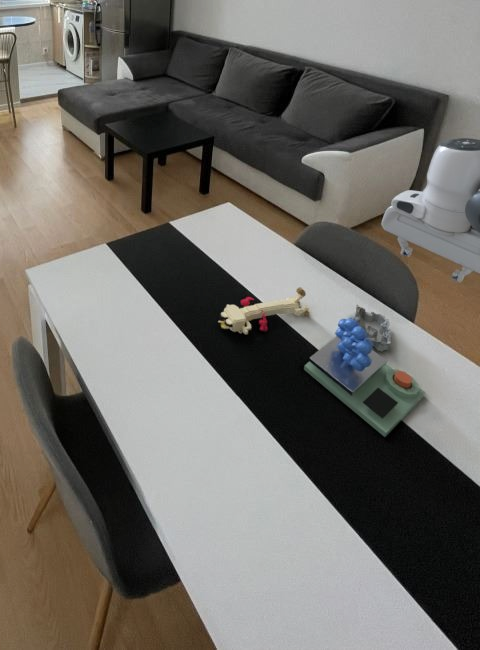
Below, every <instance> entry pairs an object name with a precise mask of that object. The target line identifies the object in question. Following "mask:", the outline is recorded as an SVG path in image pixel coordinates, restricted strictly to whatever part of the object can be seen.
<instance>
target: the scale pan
mask: <svg viewBox="0 0 480 650" xmlns="http://www.w3.org/2000/svg"><path fill="white" fill-rule="evenodd" d="M340 341H341V339H339V338H338V337H337V336H336V335H335V337H333V338H332V339H331V340H330V341H328V343H326V344H325V345H323V346H322V347H321V348H320V349H318V350H317V351H316V352H315V353H314V354H312V355H311V356H309V358H308V362H311V363H312V364H313V365H314V366H315V367H317V368H318V369H319V370H320V371H322V372H323V373H324V374H325V375H327V376H328V377H329V378H330V379H331V380H333V381H334V382H335V383H336V384H338V385H339V386H340V387H341V388H343V389H344V390H345V391H346V392H348V393H349V394H350V395H351V396H352V395H353V394H354V393H355V392H357V391H358V390H359V389H360V388H361V387H362V386H363V385H364V384H365V383H366V382H367V381H369V380H370V379H371V378H372V377H373V376H374V375H375V374H376V373H377V372H378V371H379V370H380V369H382V368H383V367H384V366H385V365H387V363H388V360H387V359H386V358H384V357H383V356H381V355H380V354H379V353H377V351H374V350H373V349H372V351H371V353H369V354H368V356H369V357H370V358H371V359H372V362H371V364H370V366H368V367H365V369H364V370H363V371H357V370H355V369H354V368H353V367H352V366H351V365H348V364H347V363H346V362H345V361H344V360H343V356H344V354H345V353H342V352H341V351H340V350H339V349H338V348H337V345H338V343H339V342H340ZM363 403H364V404H365V405H366V406H368V407H369V408H370V409H371V410H372V411H374V412H375V413H376V414H377V415H379V416H380V417H381V418H382V419H383V418H384V417H385V416H386V415H387V414H388V413H389V412H390V411H391V410H392V409H393V408H394V407H395V406H396V405H397V404H398V402H397V401H395V400H394V399H393V398H391V397H390V396H389V395H387V394H386V393H385V392H383V391H382V390H381V389H380V388H377V389H376V390H375V391H374V392H373V393H372V394H371V395H370V396H369V397H368V398H367V399H365V400H364V401H363Z"/></svg>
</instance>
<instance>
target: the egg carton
mask: <svg viewBox="0 0 480 650" xmlns="http://www.w3.org/2000/svg"><path fill="white" fill-rule="evenodd" d="M355 307H356V308H355V312H354V313H353V319H355V320H356V321H357V322H358V323H359V327H362V328H363V329H364V330H365V331H366V332H367V336H366V338H368V339H369V340H370V341H371V342H372V343H373V346H372V347H373V348H375V349H376V351H379V352H381V353H383V351H388V348H389V346H390V344H391V343H392V339H391V326H390V320H389V318H388V317H387V316H386V315H382V314H381V313H375V312H374V311H370V312H368V311H366V309H365V308H364V307H362V306H359V304H356V305H355Z"/></svg>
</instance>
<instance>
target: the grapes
mask: <svg viewBox="0 0 480 650" xmlns="http://www.w3.org/2000/svg"><path fill="white" fill-rule="evenodd" d="M337 326H338V328H336V330H335V332H334V334H335V337H336V336H337V337H338V338H339V339H341V341H340V342H339V343H338V345H337V348H338V349H339V350H340V351H341V352H342V353H345V354H344V356H343V360H344V361H345V362H346V363H347V364H348V365H351V366H352V367H353V368H354V369H355V370H357V371H363V370H364V369H365V367H368V366H370V364H371V362H372V359H371V358H370V357H369V356H368V354H369V353H371V351H372V350H373V348H374V346H373V343H372V342H371V341H370V340H369V339H368V338H366V336H367V332H366V331H365V330H364V329H363V328H362V327H359V323H358V322H357V321H356V320H355V319H354V317H353V318H352V317H348V318H342V319H339V321H338V323H337Z"/></svg>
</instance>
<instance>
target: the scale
mask: <svg viewBox="0 0 480 650" xmlns="http://www.w3.org/2000/svg"><path fill="white" fill-rule="evenodd" d="M303 370H304V371H305V372H306V373H307V374H309V376H311V377H312V378H313V379H314V380H316V381H317V382H318V383H319V384H320V385H322V386H323V387H324V388H325V389H326V390H328V391H329V392H330V393H331V394H332V395H333V396H335V397H336V398H337V399H339V400H340V401H341V402H342V403H343V404H344V405H346V406H347V408H349V409H351V410H352V411H353V412H354V413H355V414H357V416H359V417H360V418H361V419H362V420H364V422H366V423H367V424H368V425H369V426H370V427H372V428H373V429H374V430H376V431H377V432H378V433H379V434H380V435H381V436H383V437H384V438H387V436H388V435H389V434H390V433H391V432H392V431H393V430H394V429H395V428H396V427H397V425H398V424H399V423H400V422H401V421H402V420H403V419H404V418H405V417H407V415H408V414H409V413H410V411H412V409H414V408H415V406H416V405H417V404H418V403H419V402H420V401H421V400H422V399H423V398H424V397H425V395H426V391H425V390H423V389H422V388H420V387H419V383H418V382H417V380H416V379H415V378H414V377H413V376H412V375H411V374H409V373H407V372H405V371H404V370H400V369H398V368H392V367H390V366H389V365H388V364H386V365H385V366H384V367H383V368H382V369H380V370H379V371H378V372H377V373H376V374H375V375H374V376H373V377H372V378H371V379H370V380H369V381H367V382H366V383H365V384H364V385H363V386H362V387H361V388H360V389H359V390H358V391H357V392H355V393H354V394H353V395H352V396H351V395H350V394H349V393H348V392H346V391H345V390H344V389H343V388H341V387H340V386H339V385H338V384H336V383H335V382H334V381H333V380H331V379H330V378H329V377H328V376H327V375H325V374H324V373H323V372H322V371H320V370H319V369H318V368H317V367H315V366H314V365H313V364H312V363H311V362H309V361H308V362H307V363H306V364H304V367H303ZM397 371H403V372H405V373H407V374H408V375H409V376H410V377H411V379H412V383H411V386H410V388H408V389H404V388H401V387H400V386H398V385H397V384H396V383H395V381H394V376H395V373H396V372H397ZM377 388H380V389H381V390H382V391H383V392H385V393H386V394H387V395H389V396H390V397H391V398H393V399H394V400H395V401H397V402H398V404H397V405H396V406H395V407H394V408H393V409H392V410H391V411H390V412H389V413H388V414H387V415H386V416H385V417H384V418H383V419H382V418H381V417H380V416H379V415H377V414H376V413H375V412H374V411H372V410H371V409H370V408H369V407H368V406H366V405H365V404H364V403H363V401H364V400H365V399H367V398H368V397H369V396H370V395H371V394H372V393H373V392H374V391H375V390H376V389H377Z"/></svg>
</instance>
